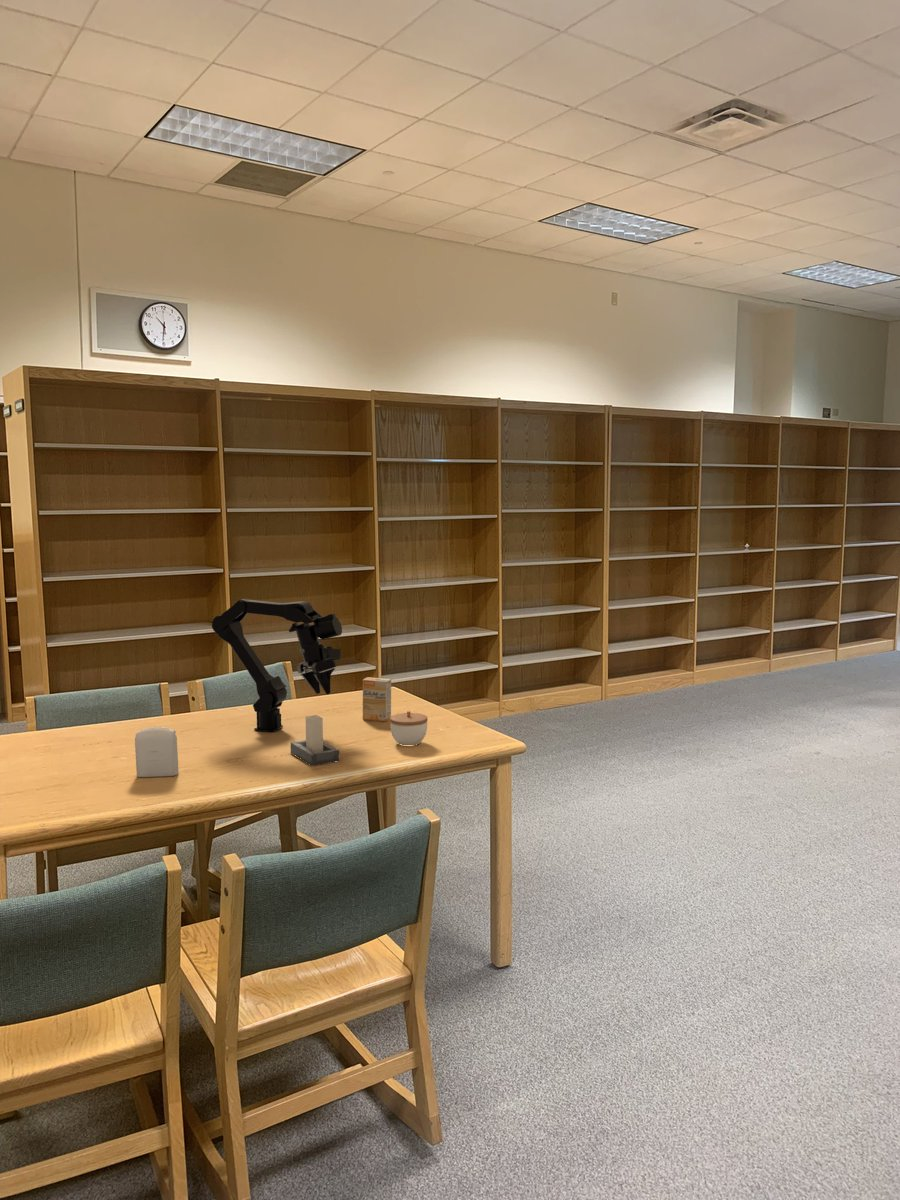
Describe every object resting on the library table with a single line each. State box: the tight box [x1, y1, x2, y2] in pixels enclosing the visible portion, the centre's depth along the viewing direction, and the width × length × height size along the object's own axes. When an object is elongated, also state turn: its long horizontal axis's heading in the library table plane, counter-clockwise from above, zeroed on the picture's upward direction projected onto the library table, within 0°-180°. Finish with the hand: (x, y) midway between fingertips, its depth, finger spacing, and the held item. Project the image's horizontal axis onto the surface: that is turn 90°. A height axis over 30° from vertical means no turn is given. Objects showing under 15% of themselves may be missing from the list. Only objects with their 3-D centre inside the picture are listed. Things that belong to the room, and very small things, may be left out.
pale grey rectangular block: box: [305, 714, 324, 753], centre depth 234 cm, size 4×3×10 cm
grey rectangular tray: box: [289, 739, 340, 767], centre depth 235 cm, size 14×8×3 cm, turn 33°
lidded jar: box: [389, 711, 429, 745], centre depth 247 cm, size 11×11×9 cm
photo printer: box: [134, 726, 179, 778], centre depth 218 cm, size 10×4×12 cm, turn 96°
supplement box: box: [362, 676, 392, 722], centre depth 274 cm, size 8×5×13 cm, turn 73°
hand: (323, 693), depth 257 cm, fingers open, 9 cm apart
